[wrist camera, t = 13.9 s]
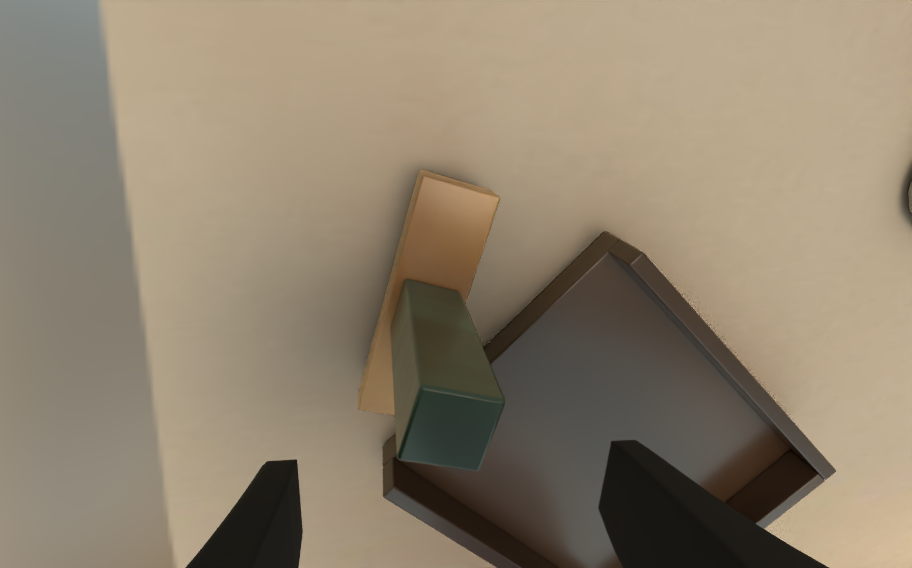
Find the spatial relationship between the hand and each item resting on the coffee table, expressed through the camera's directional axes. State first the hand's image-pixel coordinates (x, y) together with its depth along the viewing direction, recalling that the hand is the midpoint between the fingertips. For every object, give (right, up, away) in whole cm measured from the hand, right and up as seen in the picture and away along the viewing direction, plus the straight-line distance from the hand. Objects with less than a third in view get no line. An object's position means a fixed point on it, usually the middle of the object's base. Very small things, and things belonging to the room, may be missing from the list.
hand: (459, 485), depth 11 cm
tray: (+6, -2, +10) cm, 12 cm away
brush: (-1, +5, +6) cm, 8 cm away
